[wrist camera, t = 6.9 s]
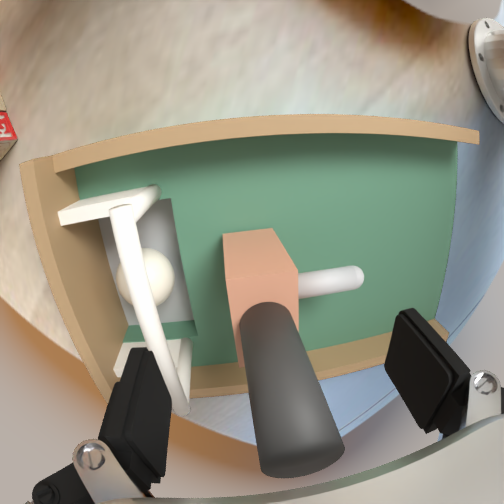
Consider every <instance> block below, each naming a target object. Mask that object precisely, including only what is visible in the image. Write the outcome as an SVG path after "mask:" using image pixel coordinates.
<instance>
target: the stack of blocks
mask: <svg viewBox="0 0 504 504" xmlns="http://www.w3.org/2000/svg"><path fill="white" fill-rule="evenodd" d="M16 141H17V136H16V134H15V132H14V129H13V127H12V125H11V122H10V120H9V118H8V115H7V113H6V107H5V104H4V101H3V99H2V96H1V93H0V160H1V159H2V158H3V157H4V156H5V154H6V153H7V152H8V151H9V149H10V148H11V147H12V146H13V145H14V143H15V142H16Z"/></svg>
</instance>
